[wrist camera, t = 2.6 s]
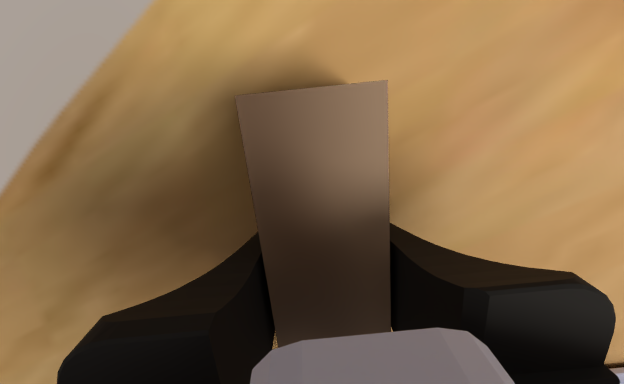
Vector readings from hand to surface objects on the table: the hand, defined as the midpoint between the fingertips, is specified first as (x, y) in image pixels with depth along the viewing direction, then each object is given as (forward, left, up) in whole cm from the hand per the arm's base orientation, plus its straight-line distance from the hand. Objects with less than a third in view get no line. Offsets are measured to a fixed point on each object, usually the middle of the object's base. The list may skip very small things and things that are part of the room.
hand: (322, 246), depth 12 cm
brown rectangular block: (0, 0, -2) cm, 2 cm away
